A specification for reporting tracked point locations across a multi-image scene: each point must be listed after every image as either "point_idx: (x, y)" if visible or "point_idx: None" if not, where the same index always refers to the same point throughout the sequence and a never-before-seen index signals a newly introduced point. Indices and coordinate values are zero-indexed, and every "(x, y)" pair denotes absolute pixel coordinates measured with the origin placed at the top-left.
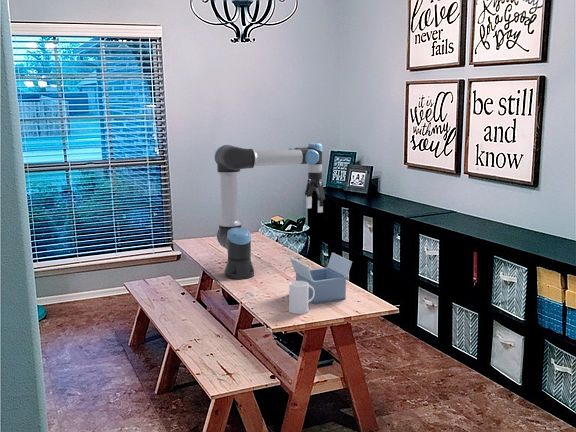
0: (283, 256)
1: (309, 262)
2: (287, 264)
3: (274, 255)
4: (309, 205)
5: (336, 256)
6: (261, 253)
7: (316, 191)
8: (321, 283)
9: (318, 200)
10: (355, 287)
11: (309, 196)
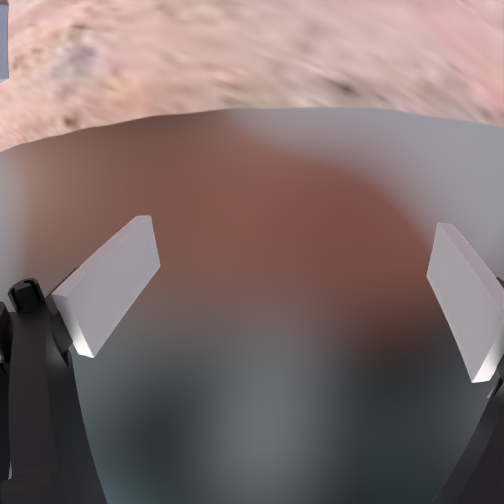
0: (402, 48)
1: (262, 102)
2: (265, 7)
3: (430, 26)
4: (443, 268)
5: None
6: (474, 5)
7: (31, 435)
8: None
9: (22, 282)
10: (3, 148)
11: (502, 359)
